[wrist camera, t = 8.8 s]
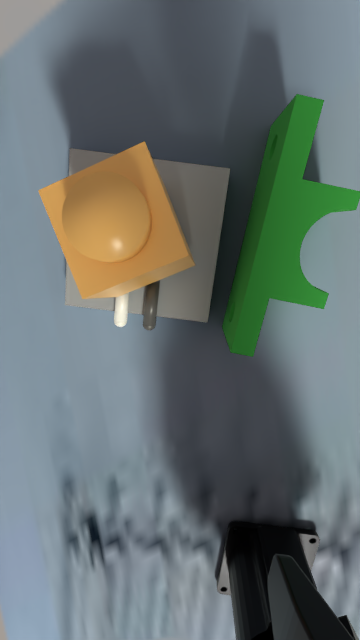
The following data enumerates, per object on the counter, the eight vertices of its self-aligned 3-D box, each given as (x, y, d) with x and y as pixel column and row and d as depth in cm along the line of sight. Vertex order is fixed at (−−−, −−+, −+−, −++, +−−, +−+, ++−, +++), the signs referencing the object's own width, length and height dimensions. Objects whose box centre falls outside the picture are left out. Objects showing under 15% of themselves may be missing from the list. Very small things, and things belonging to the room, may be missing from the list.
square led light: (195, 265, 17) (186, 252, 11) (117, 296, 18) (71, 299, 12) (163, 183, 17) (138, 127, 11) (86, 218, 17) (23, 181, 12)
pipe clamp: (280, 337, 21) (304, 368, 16) (221, 325, 21) (229, 353, 16) (339, 140, 18) (389, 112, 13) (270, 125, 18) (297, 92, 13)
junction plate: (204, 327, 20) (209, 358, 16) (73, 311, 20) (37, 337, 16) (226, 173, 18) (241, 153, 13) (79, 154, 18) (39, 128, 13)
